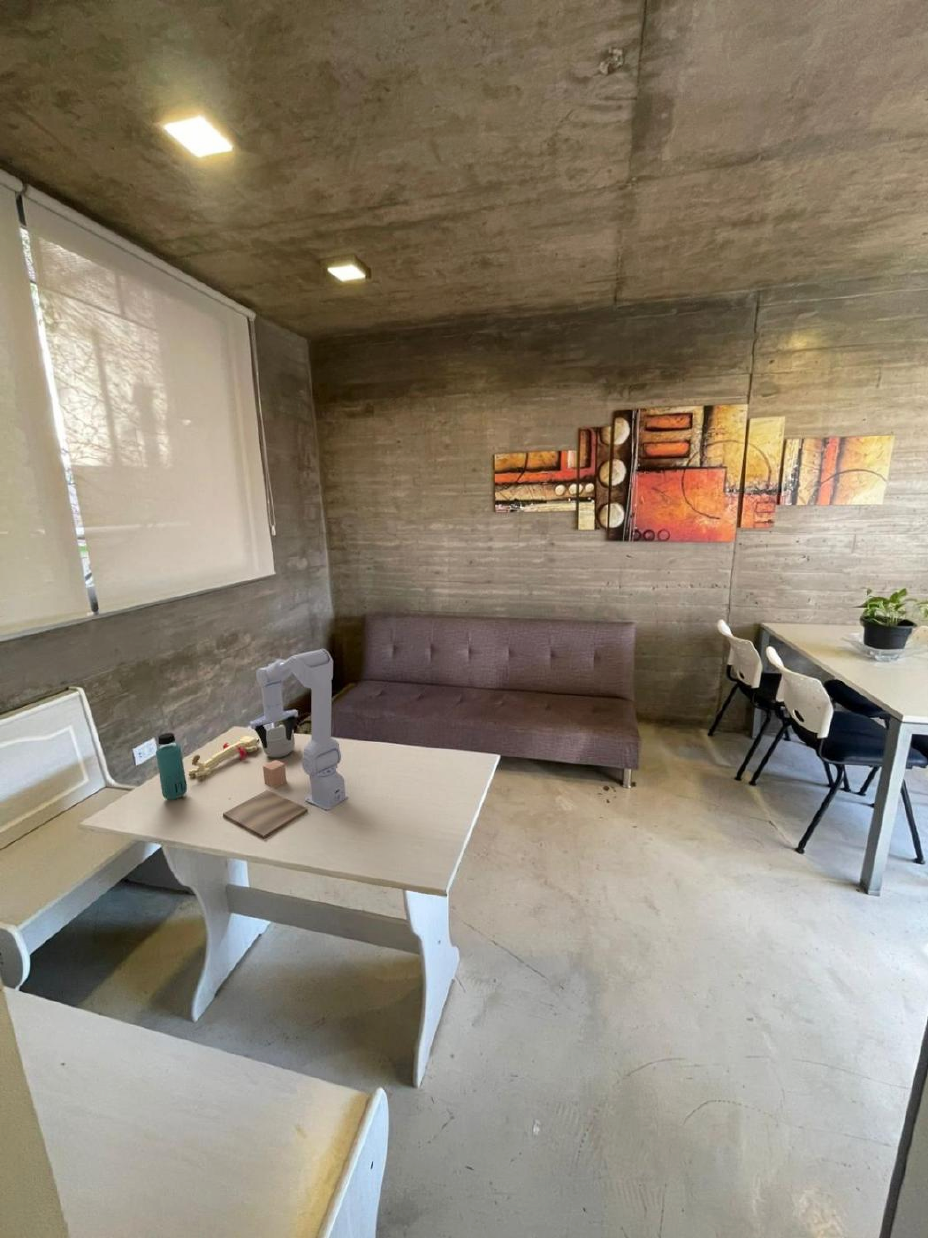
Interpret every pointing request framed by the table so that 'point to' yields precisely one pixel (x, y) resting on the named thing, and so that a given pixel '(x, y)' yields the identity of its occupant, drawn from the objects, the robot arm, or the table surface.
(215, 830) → the table surface
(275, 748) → the teacup
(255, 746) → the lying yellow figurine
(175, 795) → the beverage bottle
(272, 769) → the block
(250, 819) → the board
